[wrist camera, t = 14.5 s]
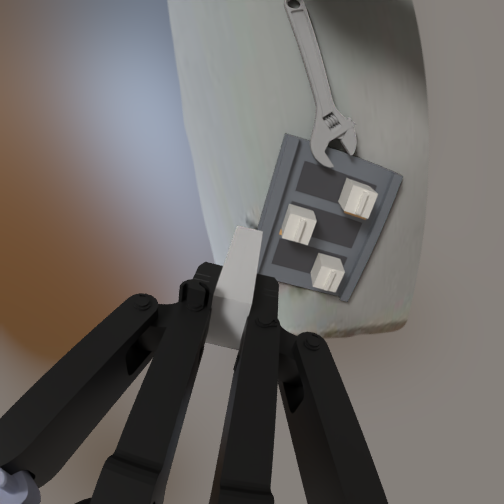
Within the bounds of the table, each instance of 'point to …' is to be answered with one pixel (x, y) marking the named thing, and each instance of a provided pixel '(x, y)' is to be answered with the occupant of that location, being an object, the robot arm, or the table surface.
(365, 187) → the white notched block
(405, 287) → the table surface
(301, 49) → the adjustable wrench
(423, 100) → the table surface
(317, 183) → the switch bank
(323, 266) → the white ridged block
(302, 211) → the white slider knob
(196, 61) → the table surface
